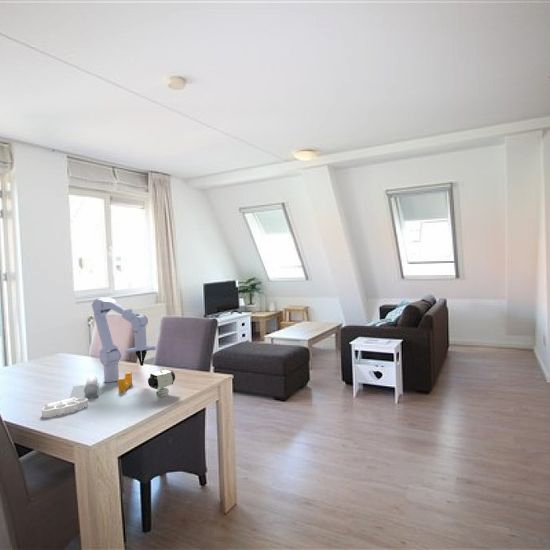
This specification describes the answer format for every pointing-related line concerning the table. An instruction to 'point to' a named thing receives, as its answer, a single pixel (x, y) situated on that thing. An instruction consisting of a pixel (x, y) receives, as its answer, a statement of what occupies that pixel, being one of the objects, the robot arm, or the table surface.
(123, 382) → the orange notched block
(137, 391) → the table surface
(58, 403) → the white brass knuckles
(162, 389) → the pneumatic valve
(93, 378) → the duct pipe
